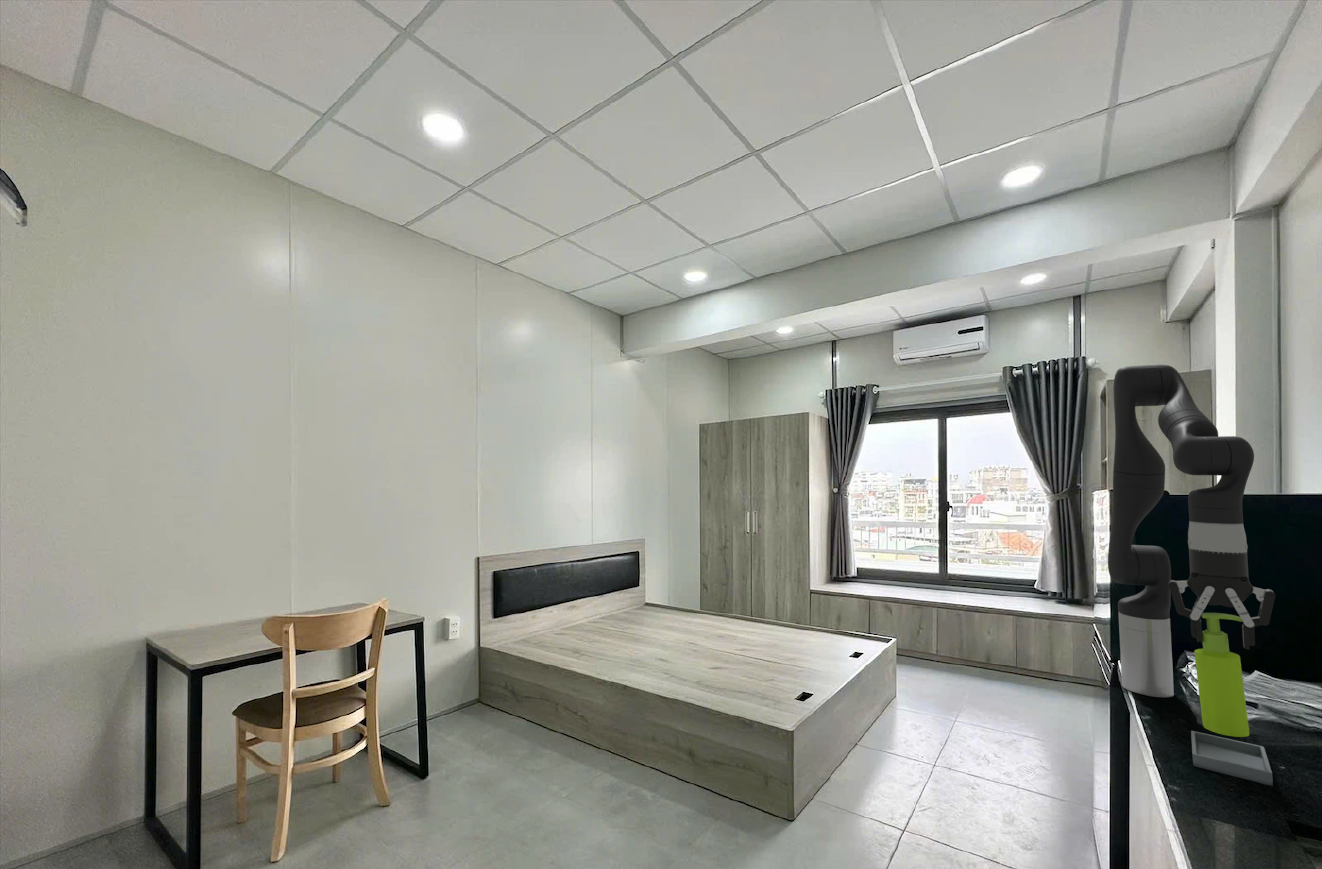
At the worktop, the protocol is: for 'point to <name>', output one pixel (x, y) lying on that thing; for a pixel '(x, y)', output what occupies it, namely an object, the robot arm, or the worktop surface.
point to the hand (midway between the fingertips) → (1222, 643)
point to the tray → (1231, 757)
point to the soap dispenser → (1220, 681)
